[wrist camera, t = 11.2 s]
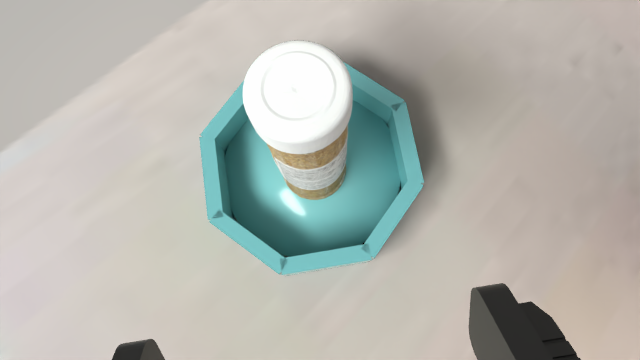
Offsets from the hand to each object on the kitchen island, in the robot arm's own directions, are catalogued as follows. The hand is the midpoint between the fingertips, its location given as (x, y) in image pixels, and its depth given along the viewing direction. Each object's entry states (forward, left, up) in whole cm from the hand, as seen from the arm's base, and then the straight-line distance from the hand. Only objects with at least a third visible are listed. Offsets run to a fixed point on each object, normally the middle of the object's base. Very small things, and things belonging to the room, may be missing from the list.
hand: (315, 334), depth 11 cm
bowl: (0, -9, -19) cm, 21 cm away
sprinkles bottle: (0, -9, -18) cm, 20 cm away
